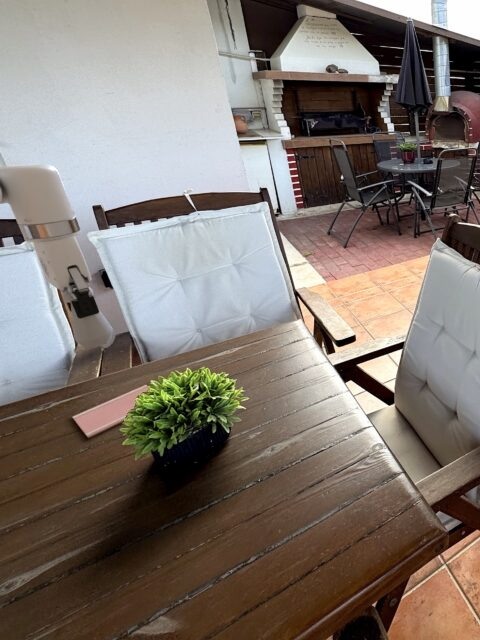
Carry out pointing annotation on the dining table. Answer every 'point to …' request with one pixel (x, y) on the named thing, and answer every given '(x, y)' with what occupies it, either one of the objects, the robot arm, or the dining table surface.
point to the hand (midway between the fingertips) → (84, 311)
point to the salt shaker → (89, 327)
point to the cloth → (107, 413)
